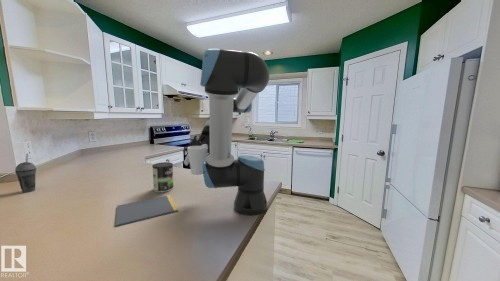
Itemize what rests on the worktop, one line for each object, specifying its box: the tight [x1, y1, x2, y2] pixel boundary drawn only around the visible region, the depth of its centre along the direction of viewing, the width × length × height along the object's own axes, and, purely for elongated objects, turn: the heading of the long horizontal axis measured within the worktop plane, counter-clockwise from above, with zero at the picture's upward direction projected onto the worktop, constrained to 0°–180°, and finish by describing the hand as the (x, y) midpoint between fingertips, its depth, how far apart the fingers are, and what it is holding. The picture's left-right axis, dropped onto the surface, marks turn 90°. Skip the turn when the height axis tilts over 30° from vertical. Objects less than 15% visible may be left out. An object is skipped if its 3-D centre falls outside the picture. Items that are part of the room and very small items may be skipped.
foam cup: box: [186, 145, 208, 176], centre depth 93 cm, size 10×9×13 cm
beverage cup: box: [14, 153, 37, 194], centre depth 99 cm, size 7×7×20 cm
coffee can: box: [152, 161, 175, 193], centre depth 105 cm, size 10×10×14 cm
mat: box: [115, 194, 179, 227], centre depth 83 cm, size 18×22×1 cm
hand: (194, 164), depth 90 cm, fingers closed on foam cup, 9 cm apart
